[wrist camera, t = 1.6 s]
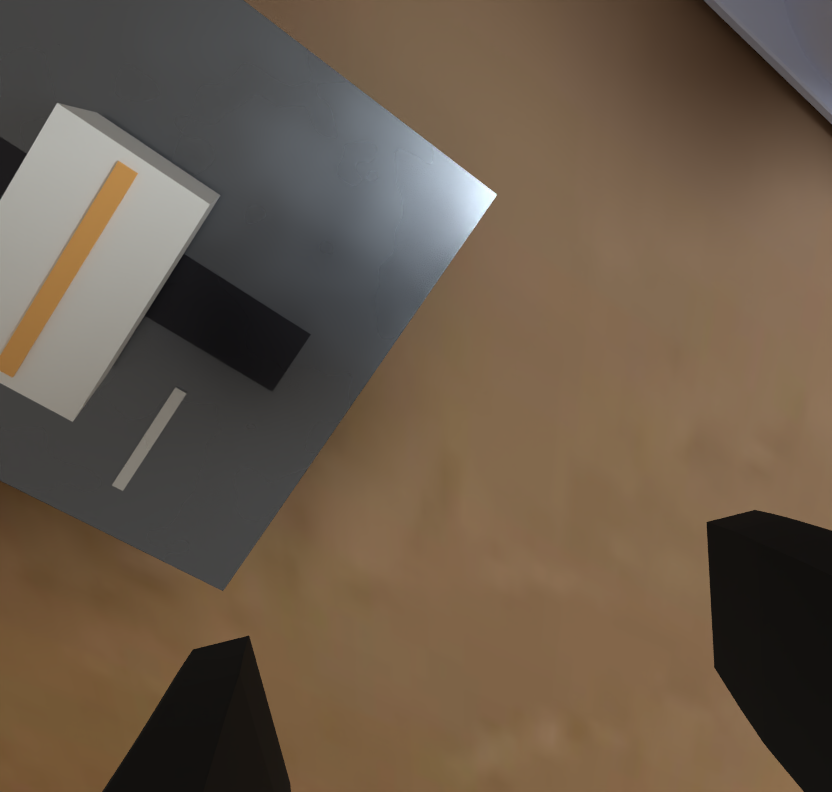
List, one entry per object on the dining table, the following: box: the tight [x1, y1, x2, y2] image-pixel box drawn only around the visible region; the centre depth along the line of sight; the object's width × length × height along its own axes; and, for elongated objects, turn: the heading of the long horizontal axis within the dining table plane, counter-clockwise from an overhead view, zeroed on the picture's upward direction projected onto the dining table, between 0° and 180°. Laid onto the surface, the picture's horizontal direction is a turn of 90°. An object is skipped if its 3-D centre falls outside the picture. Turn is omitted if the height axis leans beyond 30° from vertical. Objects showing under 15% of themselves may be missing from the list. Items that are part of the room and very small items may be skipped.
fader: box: [0, 103, 220, 422], centre depth 13 cm, size 2×4×3 cm, turn 144°
